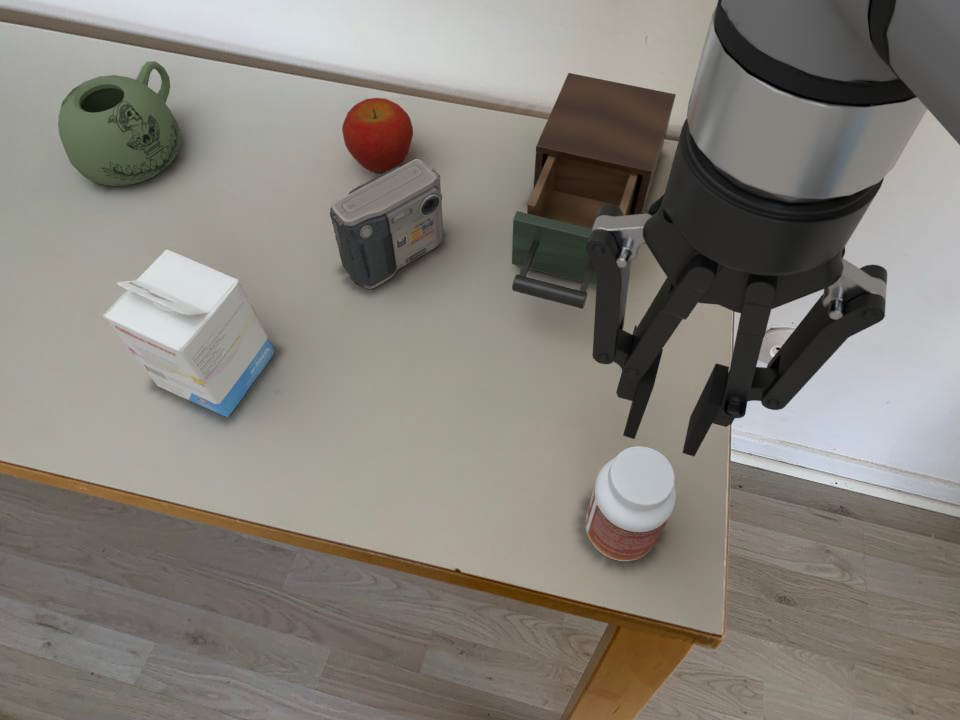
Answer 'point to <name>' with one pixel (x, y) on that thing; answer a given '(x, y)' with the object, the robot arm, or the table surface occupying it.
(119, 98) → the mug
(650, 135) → the cabinet
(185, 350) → the ink box
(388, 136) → the apple
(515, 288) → the drawer
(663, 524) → the pill bottle
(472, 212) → the table surface
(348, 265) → the camera
